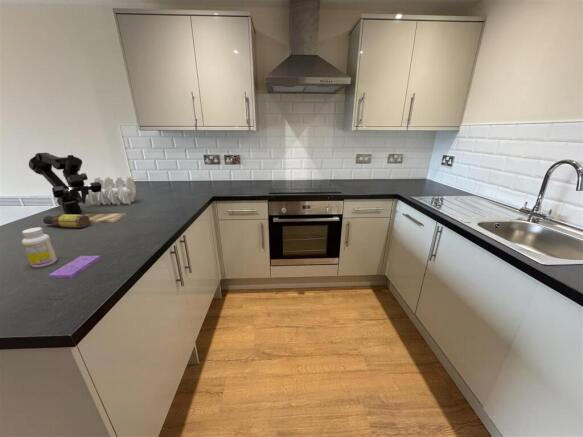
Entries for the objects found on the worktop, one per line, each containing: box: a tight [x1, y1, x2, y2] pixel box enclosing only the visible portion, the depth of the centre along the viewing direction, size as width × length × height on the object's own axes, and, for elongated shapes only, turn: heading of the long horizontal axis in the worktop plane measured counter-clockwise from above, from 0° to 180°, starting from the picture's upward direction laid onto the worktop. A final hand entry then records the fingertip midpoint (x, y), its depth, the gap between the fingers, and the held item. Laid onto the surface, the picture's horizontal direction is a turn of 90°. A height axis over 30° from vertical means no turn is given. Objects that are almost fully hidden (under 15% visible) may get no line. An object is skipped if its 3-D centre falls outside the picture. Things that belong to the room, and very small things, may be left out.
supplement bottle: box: [21, 226, 58, 268], centre depth 83 cm, size 7×7×13 cm
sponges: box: [48, 255, 101, 279], centre depth 82 cm, size 7×13×2 cm, turn 0°
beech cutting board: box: [85, 212, 127, 224], centre depth 128 cm, size 20×11×1 cm, turn 95°
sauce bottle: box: [42, 213, 90, 229], centre depth 117 cm, size 6×6×20 cm
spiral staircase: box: [85, 176, 137, 206], centre depth 152 cm, size 18×18×25 cm
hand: (84, 203), depth 120 cm, fingers closed
